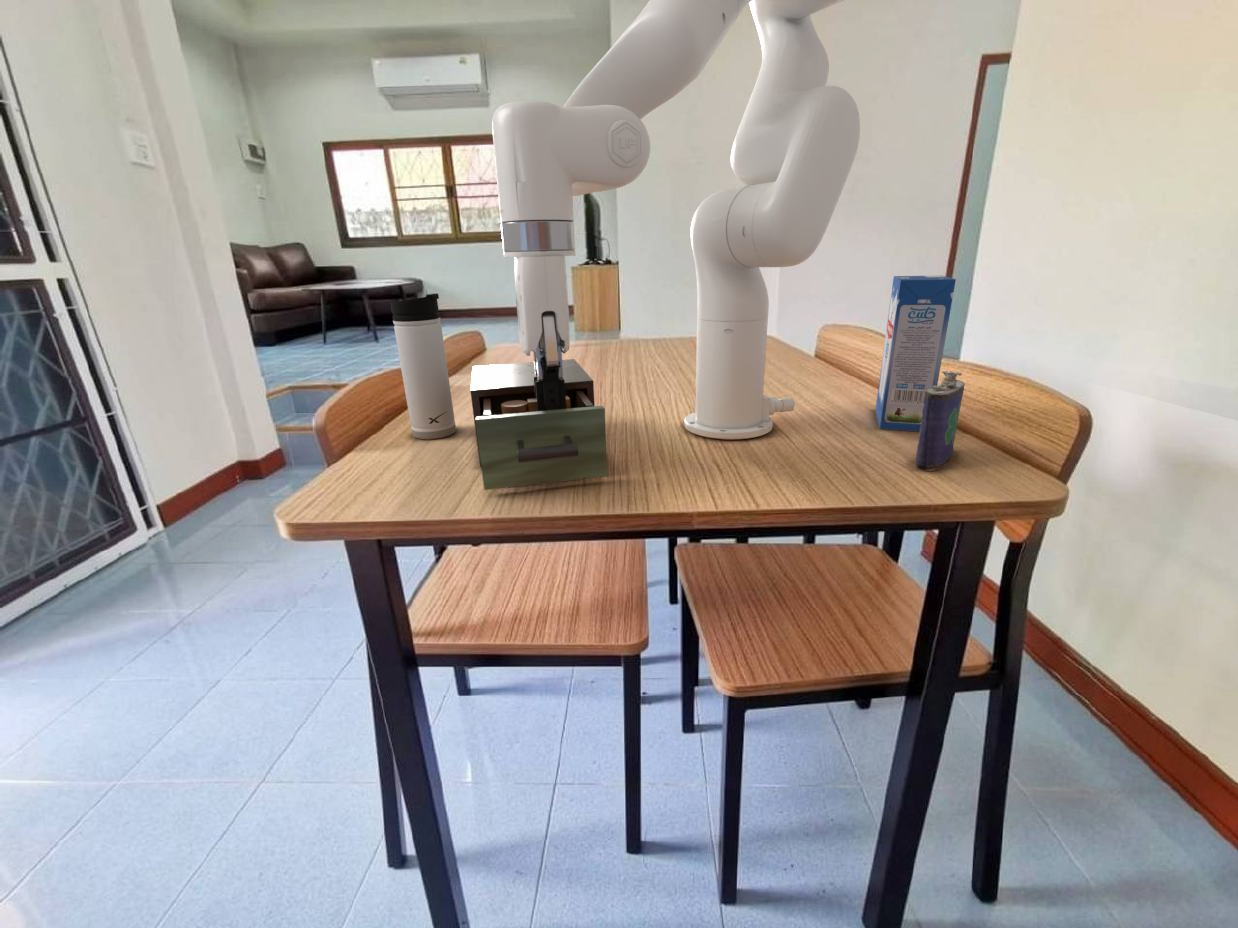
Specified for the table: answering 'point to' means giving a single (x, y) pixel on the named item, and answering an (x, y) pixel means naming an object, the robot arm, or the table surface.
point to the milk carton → (912, 348)
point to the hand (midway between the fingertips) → (551, 411)
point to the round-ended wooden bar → (524, 406)
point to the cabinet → (520, 382)
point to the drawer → (541, 442)
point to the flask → (939, 423)
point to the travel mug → (424, 366)
